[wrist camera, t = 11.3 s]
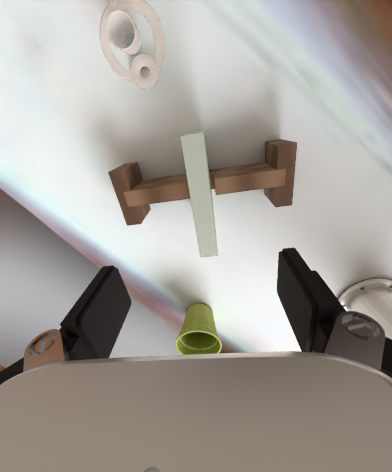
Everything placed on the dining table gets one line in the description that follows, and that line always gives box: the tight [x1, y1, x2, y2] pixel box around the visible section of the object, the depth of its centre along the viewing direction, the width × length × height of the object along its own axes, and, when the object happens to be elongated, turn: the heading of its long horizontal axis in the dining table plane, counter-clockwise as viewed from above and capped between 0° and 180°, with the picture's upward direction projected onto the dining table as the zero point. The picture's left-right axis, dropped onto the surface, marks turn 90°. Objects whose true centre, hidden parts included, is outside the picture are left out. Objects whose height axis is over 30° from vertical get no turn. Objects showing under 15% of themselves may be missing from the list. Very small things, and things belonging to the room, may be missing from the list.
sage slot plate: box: [180, 130, 218, 257], centre depth 27 cm, size 2×14×12 cm, turn 9°
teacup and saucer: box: [100, 0, 165, 90], centre depth 24 cm, size 9×8×4 cm
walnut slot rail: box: [108, 139, 297, 225], centre depth 30 cm, size 24×8×6 cm, turn 99°
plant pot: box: [175, 303, 222, 355], centre depth 44 cm, size 9×9×9 cm
